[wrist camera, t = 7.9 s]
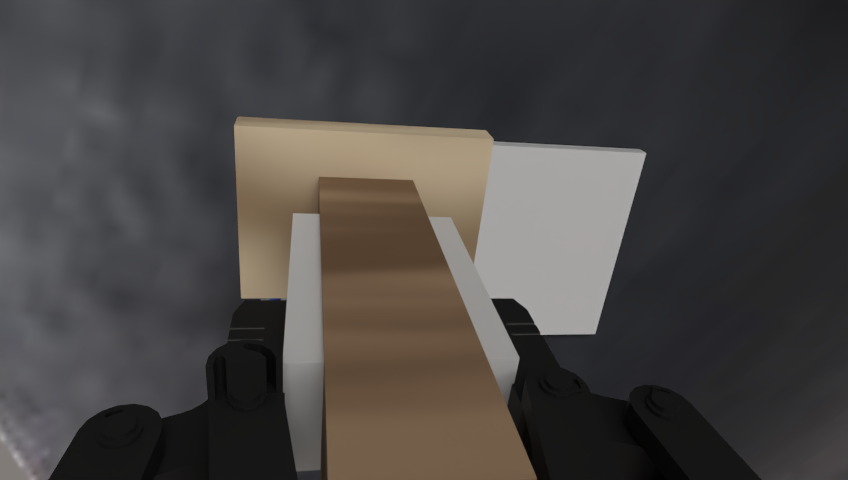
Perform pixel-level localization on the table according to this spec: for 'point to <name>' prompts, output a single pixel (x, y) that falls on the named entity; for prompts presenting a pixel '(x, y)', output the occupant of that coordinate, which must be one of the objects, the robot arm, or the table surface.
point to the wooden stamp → (382, 291)
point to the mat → (555, 229)
